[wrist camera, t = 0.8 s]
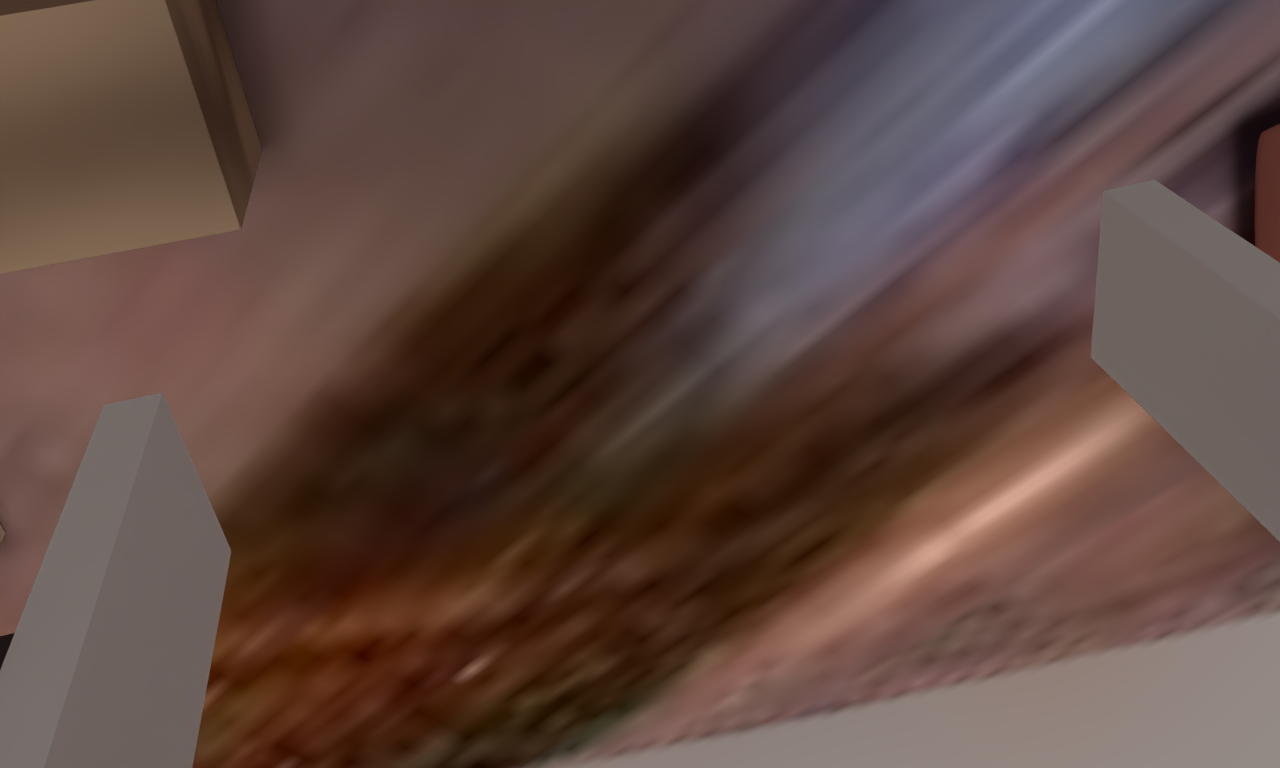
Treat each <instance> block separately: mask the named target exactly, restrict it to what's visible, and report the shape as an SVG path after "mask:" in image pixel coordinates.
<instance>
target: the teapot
mask: <svg viewBox="0 0 1280 768" xmlns="http://www.w3.org/2000/svg"><path fill="white" fill-rule="evenodd" d="M1255 247H1257V248H1258V249H1260V250H1261V251H1263V252H1264V253H1266V254H1267V255H1269V256H1270V257H1272V258H1273V259H1275V260H1276V261H1278V262H1279V263H1280V123H1279V124H1277V125H1275V126H1273V127H1271V128H1269V129H1267V130H1265V131H1263V132H1262V133H1261V135H1260V138H1259V141H1258V147H1257V153H1256V171H1255Z"/></svg>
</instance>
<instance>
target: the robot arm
mask: <svg viewBox="0 0 1280 768" xmlns="http://www.w3.org/2000/svg"><path fill="white" fill-rule="evenodd" d="M1091 358H1092V359H1093V360H1094V361H1095V362H1096V363H1097V364H1098V365H1099V366H1100V367H1101V368H1102V369H1103V370H1104V371H1105V372H1106V373H1107V374H1108V375H1110V376H1111V377H1112V378H1113V379H1114V380H1115V381H1116V382H1117V383H1118V384H1119V385H1120V386H1121V387H1122V388H1123V389H1124V390H1125V391H1126V392H1127V393H1128V394H1129V395H1130V396H1131V397H1132V398H1133V399H1134V400H1135V401H1136V402H1137V403H1138V404H1139V405H1140V406H1141V407H1142V408H1143V409H1144V410H1145V411H1146V412H1147V413H1148V414H1149V415H1150V416H1152V417H1153V418H1154V419H1155V420H1156V421H1157V422H1158V423H1159V424H1160V425H1161V426H1162V427H1163V428H1164V429H1165V430H1166V431H1167V432H1168V433H1169V434H1170V435H1171V436H1172V437H1173V438H1174V439H1175V440H1176V441H1177V442H1178V443H1179V444H1180V445H1181V446H1182V447H1183V448H1184V449H1185V450H1186V451H1187V452H1188V453H1189V454H1190V455H1191V456H1192V457H1193V458H1195V459H1196V460H1197V461H1198V462H1199V463H1200V464H1201V465H1202V466H1203V467H1204V468H1205V469H1206V470H1207V471H1208V472H1209V473H1210V474H1211V475H1212V476H1213V477H1214V478H1215V479H1216V480H1217V481H1218V482H1219V483H1220V484H1221V485H1222V486H1223V487H1224V488H1225V489H1226V490H1227V491H1228V492H1229V493H1230V494H1231V495H1232V496H1233V497H1234V498H1235V499H1237V500H1238V501H1239V502H1240V503H1241V504H1242V505H1243V506H1244V507H1245V508H1246V509H1247V510H1248V511H1249V512H1250V513H1251V514H1252V515H1253V516H1254V517H1255V518H1256V519H1257V520H1258V521H1259V522H1260V523H1261V524H1262V525H1263V526H1264V527H1265V528H1266V529H1267V530H1268V531H1269V532H1270V533H1271V534H1272V535H1273V536H1274V537H1275V538H1276V539H1277V540H1278V541H1280V263H1279V262H1278V261H1276V260H1275V259H1273V258H1272V257H1270V256H1269V255H1267V254H1266V253H1264V252H1263V251H1261V250H1260V249H1258V248H1257V247H1255V246H1254V245H1252V244H1251V243H1249V242H1248V241H1246V240H1245V239H1243V238H1242V237H1240V236H1239V235H1237V234H1235V233H1234V232H1232V231H1231V230H1229V229H1228V228H1226V227H1225V226H1223V225H1222V224H1220V223H1219V222H1217V221H1216V220H1214V219H1213V218H1211V217H1210V216H1208V215H1207V214H1205V213H1204V212H1202V211H1201V210H1199V209H1198V208H1196V207H1195V206H1193V205H1192V204H1190V203H1189V202H1187V201H1186V200H1184V199H1183V198H1181V197H1180V196H1178V195H1177V194H1175V193H1174V192H1172V191H1171V190H1169V189H1168V188H1166V187H1165V186H1163V185H1162V184H1160V183H1159V182H1157V181H1156V180H1152V181H1147V182H1142V183H1138V184H1133V185H1128V186H1124V187H1119V188H1114V189H1110V190H1105V191H1103V201H1102V214H1101V227H1100V240H1099V253H1098V266H1097V280H1096V293H1095V306H1094V319H1093V332H1092V345H1091ZM230 555H231V550H230V547H229V545H228V543H227V540H226V538H225V536H224V533H223V531H222V529H221V527H220V524H219V522H218V520H217V517H216V515H215V513H214V510H213V508H212V506H211V503H210V501H209V499H208V497H207V494H206V492H205V490H204V487H203V485H202V483H201V480H200V478H199V476H198V474H197V471H196V469H195V467H194V464H193V462H192V460H191V457H190V455H189V453H188V450H187V448H186V446H185V444H184V441H183V439H182V437H181V434H180V432H179V430H178V427H177V425H176V423H175V420H174V418H173V416H172V414H171V411H170V409H169V407H168V404H167V402H166V400H165V397H164V395H163V393H159V394H154V395H149V396H145V397H140V398H135V399H131V400H126V401H121V402H117V403H112V404H107V405H104V406H103V408H102V411H101V413H100V416H99V419H98V421H97V424H96V426H95V429H94V431H93V434H92V437H91V439H90V442H89V444H88V447H87V449H86V452H85V454H84V457H83V460H82V462H81V465H80V467H79V470H78V472H77V475H76V478H75V480H74V483H73V485H72V488H71V490H70V493H69V495H68V498H67V501H66V503H65V506H64V508H63V511H62V513H61V516H60V518H59V521H58V524H57V526H56V529H55V531H54V534H53V536H52V539H51V542H50V544H49V547H48V549H47V552H46V554H45V557H44V559H43V562H42V565H41V567H40V570H39V572H38V575H37V577H36V580H35V582H34V585H33V588H32V590H31V593H30V595H29V598H28V600H27V603H26V606H25V608H24V611H23V613H22V616H21V618H20V621H19V623H18V626H17V629H16V631H15V633H13V634H9V635H4V636H0V768H192V765H193V760H194V754H195V749H196V743H197V738H198V732H199V727H200V721H201V716H202V710H203V705H204V699H205V693H206V688H207V682H208V677H209V671H210V666H211V660H212V655H213V649H214V644H215V638H216V633H217V627H218V622H219V616H220V610H221V605H222V599H223V594H224V588H225V583H226V577H227V572H228V566H229V561H230Z"/></svg>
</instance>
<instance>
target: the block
mask: <svg viewBox="0 0 1280 768" xmlns="http://www.w3.org/2000/svg"><path fill="white" fill-rule="evenodd" d="M261 152H262V148H261V145H260V142H259V139H258V135H257V132H256V129H255V126H254V122H253V119H252V116H251V113H250V109H249V106H248V103H247V100H246V97H245V93H244V90H243V87H242V84H241V80H240V77H239V74H238V71H237V67H236V64H235V61H234V58H233V54H232V51H231V48H230V45H229V41H228V38H227V35H226V32H225V28H224V25H223V22H222V19H221V15H220V12H219V9H218V6H217V2H216V0H0V274H2V273H7V272H13V271H18V270H24V269H29V268H35V267H40V266H45V265H51V264H56V263H62V262H67V261H73V260H78V259H84V258H89V257H95V256H100V255H105V254H111V253H116V252H122V251H127V250H133V249H138V248H144V247H149V246H155V245H160V244H165V243H171V242H176V241H182V240H187V239H193V238H198V237H204V236H209V235H215V234H220V233H226V232H231V231H236V230H241V227H242V224H243V220H244V216H245V212H246V208H247V205H248V201H249V197H250V193H251V190H252V186H253V182H254V178H255V174H256V171H257V167H258V163H259V159H260V156H261Z"/></svg>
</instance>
